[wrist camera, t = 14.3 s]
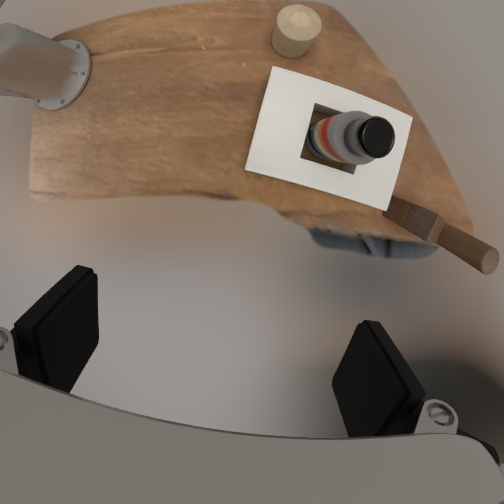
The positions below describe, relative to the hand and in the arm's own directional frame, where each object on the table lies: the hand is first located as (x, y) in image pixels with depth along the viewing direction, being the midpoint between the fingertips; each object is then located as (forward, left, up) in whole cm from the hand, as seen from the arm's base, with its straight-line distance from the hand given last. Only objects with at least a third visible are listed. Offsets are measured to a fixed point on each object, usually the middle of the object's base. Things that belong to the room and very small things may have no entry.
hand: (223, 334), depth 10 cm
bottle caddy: (+10, +10, -36) cm, 39 cm away
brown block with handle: (+28, +3, -37) cm, 46 cm away
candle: (+1, +23, -37) cm, 44 cm away
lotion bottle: (+10, +10, -37) cm, 39 cm away
